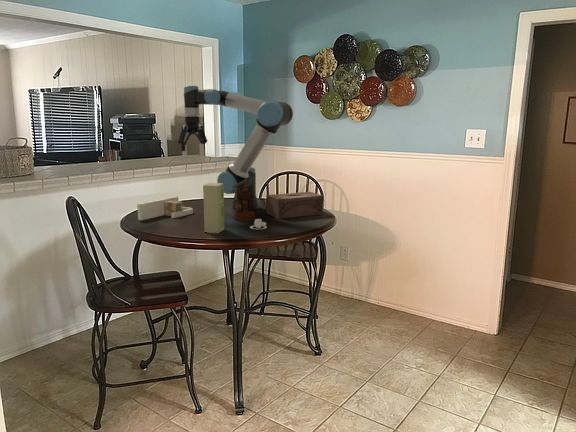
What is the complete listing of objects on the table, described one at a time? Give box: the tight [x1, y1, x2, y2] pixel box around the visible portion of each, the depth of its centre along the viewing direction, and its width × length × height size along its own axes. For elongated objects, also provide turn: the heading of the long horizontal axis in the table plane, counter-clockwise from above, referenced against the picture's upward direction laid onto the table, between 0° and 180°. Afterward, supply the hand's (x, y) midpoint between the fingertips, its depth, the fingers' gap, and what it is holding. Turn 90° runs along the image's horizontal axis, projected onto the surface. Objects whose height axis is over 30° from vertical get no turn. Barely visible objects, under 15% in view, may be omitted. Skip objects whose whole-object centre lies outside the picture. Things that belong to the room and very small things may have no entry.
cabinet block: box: [165, 200, 183, 217], centre depth 242 cm, size 7×5×7 cm
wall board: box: [136, 196, 194, 221], centre depth 239 cm, size 12×28×8 cm, turn 149°
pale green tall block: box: [202, 182, 225, 234], centre depth 207 cm, size 8×7×21 cm
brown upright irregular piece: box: [232, 180, 256, 222], centre depth 233 cm, size 15×11×20 cm
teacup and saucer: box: [249, 218, 268, 230], centre depth 216 cm, size 9×8×4 cm
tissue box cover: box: [265, 191, 324, 219], centre depth 246 cm, size 26×14×10 cm, turn 116°
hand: (193, 156), depth 253 cm, fingers open, 13 cm apart
